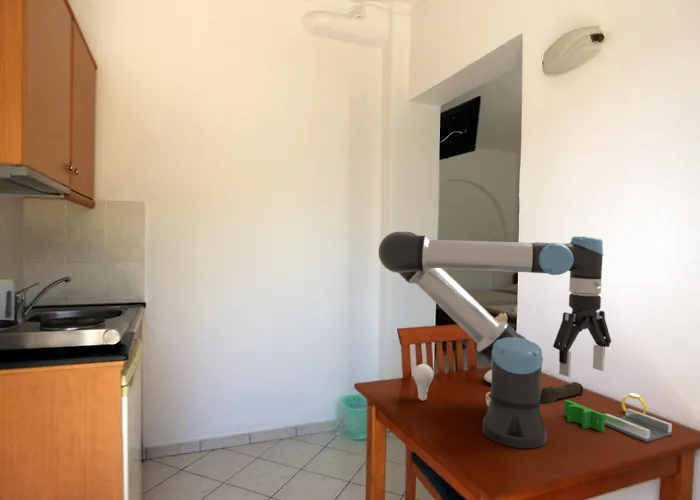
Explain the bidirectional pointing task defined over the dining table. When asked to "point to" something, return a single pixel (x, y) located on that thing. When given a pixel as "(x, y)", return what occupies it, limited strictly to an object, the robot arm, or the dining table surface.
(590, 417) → the pipe clamp
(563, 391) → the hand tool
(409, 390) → the dining table surface
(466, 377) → the dining table surface
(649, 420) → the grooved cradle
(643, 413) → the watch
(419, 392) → the lightbulb
